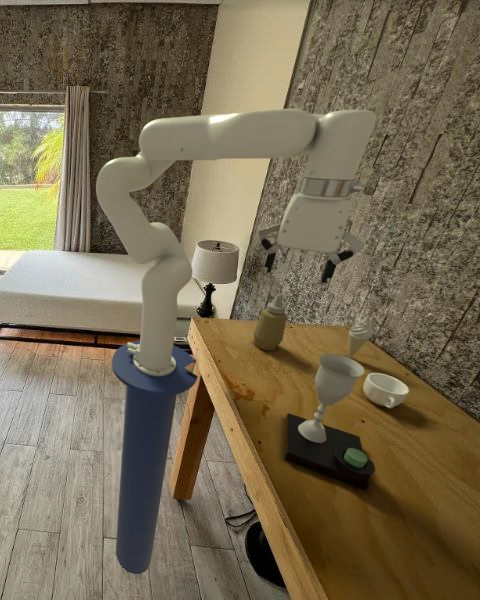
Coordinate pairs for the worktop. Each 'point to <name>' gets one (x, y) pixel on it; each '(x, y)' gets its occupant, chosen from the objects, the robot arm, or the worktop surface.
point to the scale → (326, 453)
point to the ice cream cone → (359, 336)
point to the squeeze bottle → (271, 325)
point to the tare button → (355, 457)
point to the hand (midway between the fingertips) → (294, 275)
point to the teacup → (385, 390)
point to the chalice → (330, 390)
